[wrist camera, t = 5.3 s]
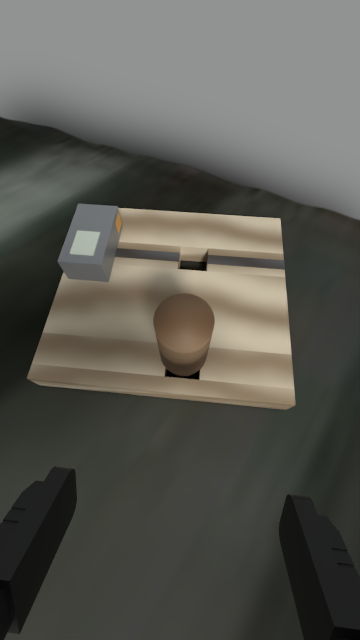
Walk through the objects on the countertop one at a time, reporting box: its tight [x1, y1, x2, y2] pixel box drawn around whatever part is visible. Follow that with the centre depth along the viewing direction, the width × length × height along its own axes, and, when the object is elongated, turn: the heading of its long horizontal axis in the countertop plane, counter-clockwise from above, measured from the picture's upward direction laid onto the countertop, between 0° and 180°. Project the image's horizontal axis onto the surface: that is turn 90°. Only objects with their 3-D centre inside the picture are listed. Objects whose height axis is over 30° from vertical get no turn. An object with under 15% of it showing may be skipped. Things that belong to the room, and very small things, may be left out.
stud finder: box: [57, 204, 123, 282], centre depth 31 cm, size 8×4×3 cm, turn 174°
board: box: [27, 208, 295, 410], centre depth 31 cm, size 22×24×3 cm
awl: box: [153, 293, 215, 378], centre depth 23 cm, size 4×4×11 cm
